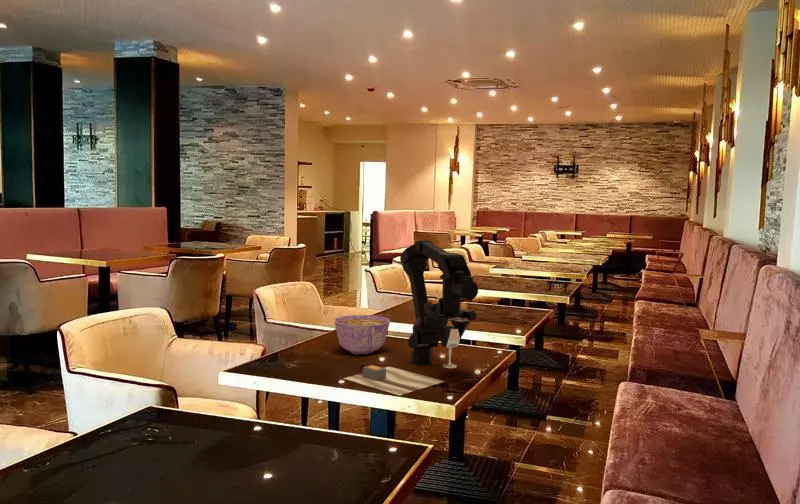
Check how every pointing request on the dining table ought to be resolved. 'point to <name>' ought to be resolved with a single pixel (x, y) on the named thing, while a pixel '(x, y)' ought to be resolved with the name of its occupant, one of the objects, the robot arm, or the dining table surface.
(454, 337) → the wineglass
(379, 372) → the block
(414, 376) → the subfloor board
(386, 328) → the bowl of food
